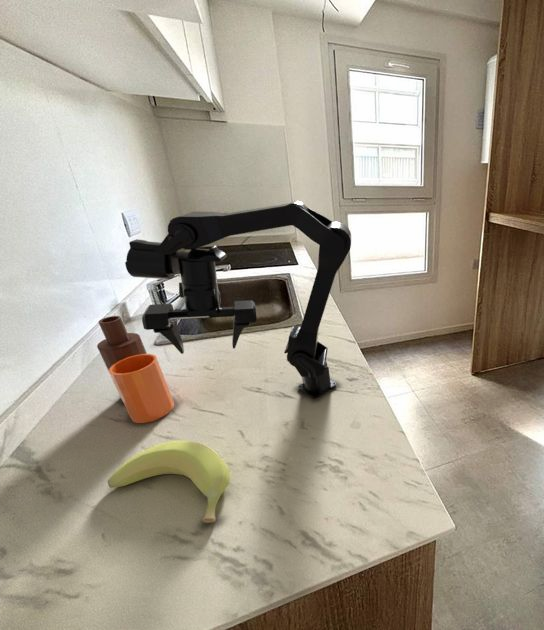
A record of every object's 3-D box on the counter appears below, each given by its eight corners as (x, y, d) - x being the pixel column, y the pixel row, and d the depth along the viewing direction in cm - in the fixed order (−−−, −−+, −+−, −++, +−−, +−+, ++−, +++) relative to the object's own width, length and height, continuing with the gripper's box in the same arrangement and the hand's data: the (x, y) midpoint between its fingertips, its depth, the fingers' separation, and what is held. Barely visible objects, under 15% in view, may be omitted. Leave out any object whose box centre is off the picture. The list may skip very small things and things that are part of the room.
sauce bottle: (165, 391, 76) (136, 318, 68) (128, 408, 71) (92, 330, 63) (153, 381, 80) (124, 309, 72) (118, 395, 75) (82, 320, 67)
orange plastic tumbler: (177, 412, 70) (158, 365, 65) (132, 428, 66) (109, 379, 61) (171, 394, 75) (154, 349, 70) (130, 409, 71) (108, 362, 66)
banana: (183, 412, 60) (239, 483, 50) (199, 428, 64) (253, 497, 54) (95, 473, 52) (140, 570, 42) (118, 487, 56) (164, 580, 46)
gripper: (252, 267, 74) (256, 328, 81) (147, 267, 66) (161, 336, 72) (254, 285, 65) (258, 352, 72) (133, 287, 57) (150, 363, 63)
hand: (209, 350), depth 70 cm, fingers open, 9 cm apart
